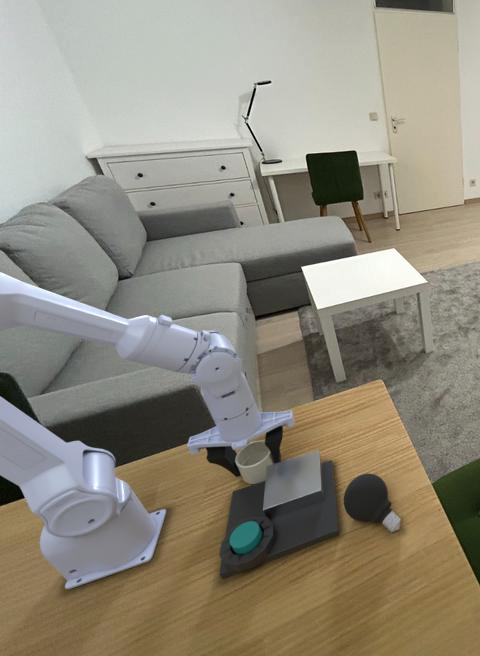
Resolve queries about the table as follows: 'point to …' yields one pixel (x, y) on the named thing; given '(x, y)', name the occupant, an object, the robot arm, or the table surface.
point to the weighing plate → (293, 485)
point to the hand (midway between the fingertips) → (258, 465)
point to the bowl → (254, 462)
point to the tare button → (246, 537)
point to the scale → (278, 526)
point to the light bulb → (370, 501)
